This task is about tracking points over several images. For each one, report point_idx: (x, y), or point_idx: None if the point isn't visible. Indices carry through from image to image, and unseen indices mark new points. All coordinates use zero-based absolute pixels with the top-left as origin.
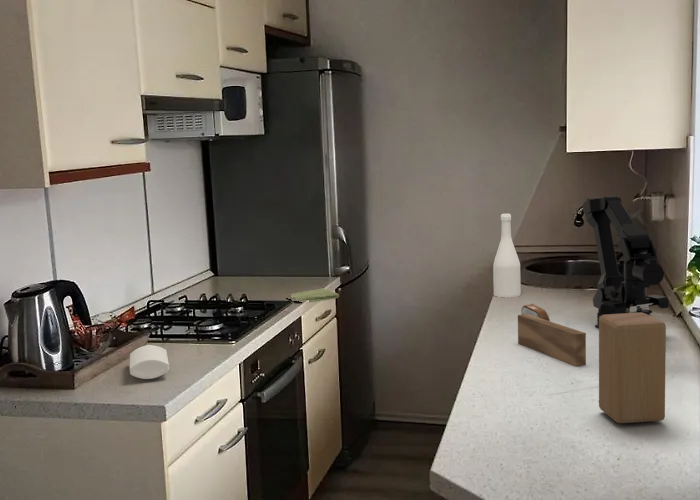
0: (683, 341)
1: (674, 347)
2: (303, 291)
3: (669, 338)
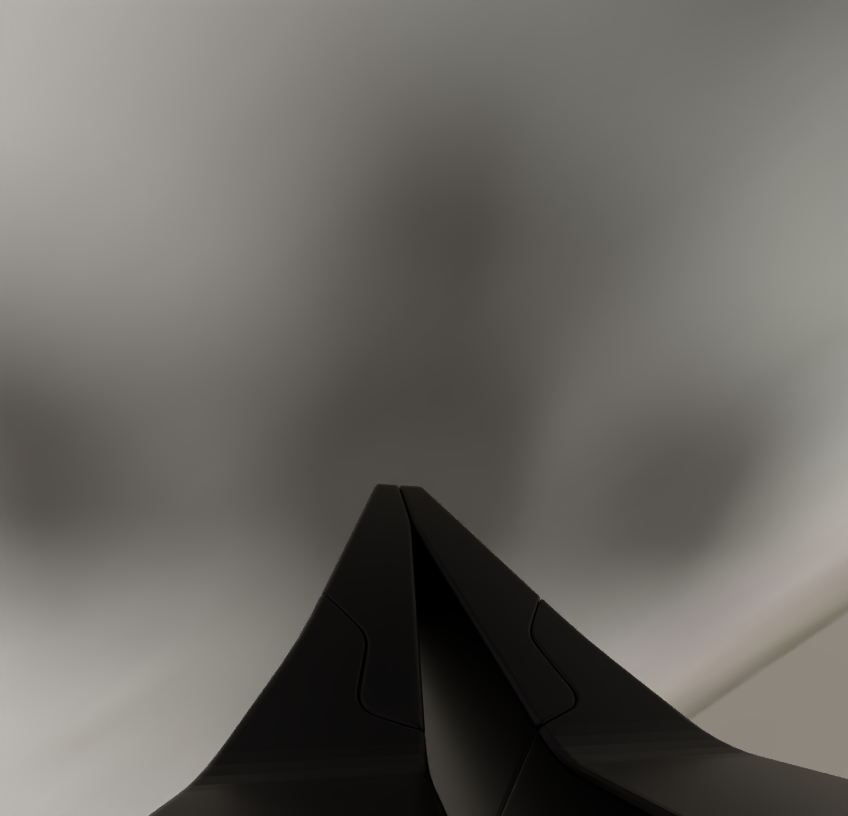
0: (690, 669)
1: None
2: None
3: (728, 560)
